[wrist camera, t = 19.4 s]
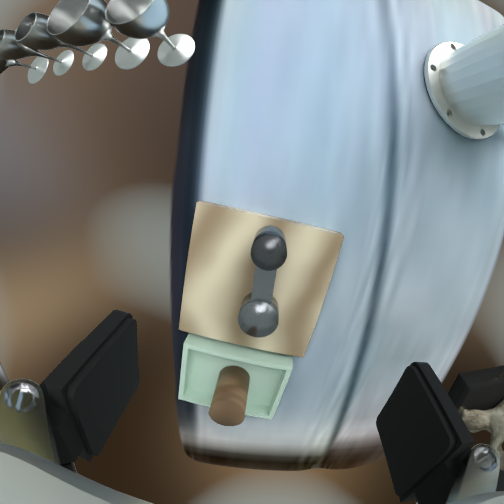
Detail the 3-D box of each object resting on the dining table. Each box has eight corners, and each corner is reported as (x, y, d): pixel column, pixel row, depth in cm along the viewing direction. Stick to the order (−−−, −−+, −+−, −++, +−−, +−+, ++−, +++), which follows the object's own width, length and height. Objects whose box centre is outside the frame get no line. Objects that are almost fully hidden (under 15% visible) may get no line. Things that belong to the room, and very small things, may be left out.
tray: (292, 355, 34) (293, 367, 32) (272, 407, 37) (271, 419, 35) (189, 332, 34) (183, 343, 32) (183, 387, 37) (178, 398, 35)
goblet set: (201, 29, 24) (160, -36, 12) (190, 72, 26) (138, 21, 13) (31, 55, 25) (-30, 39, 12) (22, 89, 27) (-43, 81, 14)
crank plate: (340, 232, 29) (344, 236, 28) (302, 350, 34) (303, 357, 32) (200, 200, 30) (196, 202, 28) (182, 323, 34) (178, 329, 33)
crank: (275, 326, 31) (274, 361, 25) (239, 321, 31) (231, 355, 25) (292, 223, 28) (297, 239, 22) (251, 218, 28) (244, 232, 22)
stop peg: (252, 369, 35) (247, 408, 28) (246, 390, 36) (240, 428, 29) (221, 362, 35) (211, 400, 28) (217, 384, 36) (207, 421, 29)
